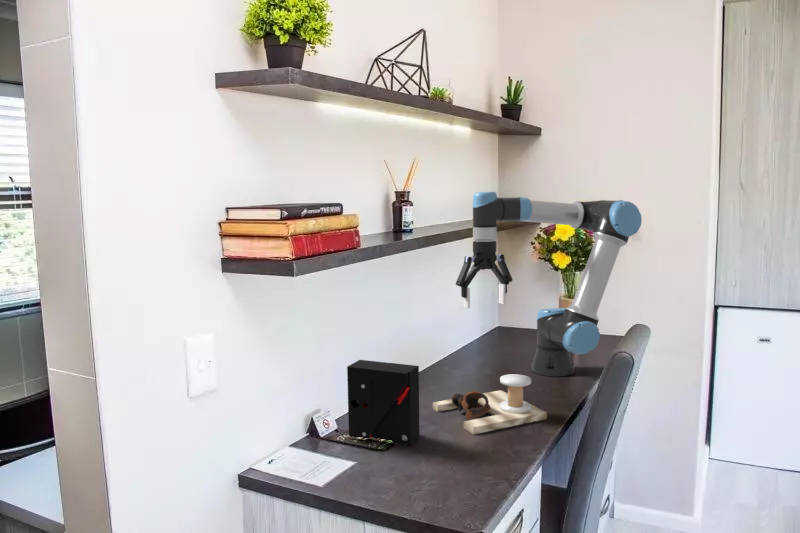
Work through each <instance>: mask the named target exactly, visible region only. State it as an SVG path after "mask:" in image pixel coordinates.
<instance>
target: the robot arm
mask: <svg viewBox="0 0 800 533" xmlns="http://www.w3.org/2000/svg"><path fill="white" fill-rule="evenodd" d="M471 207H472V239H473V240H474V241H472V252H473V256H468V255H467V256H464V260H463V265H462V266H461V269H460V271H459V274H458V277H457V279H456V280H455V281H456V282H455V286H456V287H457V286H458V287H460V291H461V293H460V295H461V298H463V299H462V300H463V303H462V304H463V308H465V309H471V307H470V306H471V287H469V285H471V283H472V281H473V279H475V277H476V276H477V273H478V272H479V271H481V270H491V272H492V273H493V274H494V275H495V277H496V278H497V279H498V281H499V282H500V283H498V304H501V305H506V295H507V293H508V285H509V284H510V283H512V282H513V278H512V277H513V276H512V275H511V272H510V270H509V267H508V265H507V264H506V260H505V258H506V257H505V255H504V254H503V253H497V241H496V240H497V235H498V234H497V230H498V229H497V223H498V222H527V223H537V224H538V223H541V224H552V225H566V226H570V227H571V228H573V229H580V230H585V231H589V232H592V235H593V237H594V243H593V246H592V248H591V251H590V253H589V257H588V259H587V262H586V265H585V267H584V270H583V273H582V276H581V278H580V281H579V284H578V286H577V289H576V292H575V295H574V297H573V300H572V302H571V305H569V306H567V307H566V308H565V307H553V308H552V307H551V308H550V307H549V308H542V309H540V310H538V311H537V316H536V329H537V330H536V351H535V353H534V354H535V355H534V357H533V361H532V362H531V371H532V373H535V374H538V375H540V376H547V377H567V376H568V377H569V376H571V375H573V374H574V373H575V363H574V360H573V356H572V354H576V355H586V354H588V353H590V352H592V351H593V350H595V348H596V347H597V345H598V344H599V341H600V338H601V333H600V329H599V328H598V324H599V321H600V319H599V317H598V314H597V313H598V310H599V307H600V305H601V301H602V300H603V297H604V293H605V290H606V288H607V286H608V282H609V280H610V278H611V274H612V272H613V270H614V266H615V264H616V261H617V257H618V255H619V252H620V249H621V248H622V247H624V246H626V245H627V243H628V241H629V238H630V237H631V236H634V234H637V233H638V232H639V230H640V228H641V226H642V221H643V220H642V214H641V212H640V209H639V208H638V206H636V204H634V203H633V202H631V201H628V200H623V199H618V200H609V199H607V200H604V199H601V200H592V201H573V202H572V203H568V202H554V201H544V200H542V201H541V200H531V199H529V198H528V197H500V196H499V197H498V195H497V192H496V191H479V192H478V191H476V192H474V194H473V196H472V205H471ZM496 253H497V254H496ZM496 262H497V264H496ZM499 268H500V269H499ZM571 353H572V354H571Z"/></svg>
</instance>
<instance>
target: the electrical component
mask: <svg viewBox="0 0 800 533" xmlns="http://www.w3.org/2000/svg"><path fill="white" fill-rule="evenodd" d="M346 370H347V372H346V375H347V409H348V410H347V411H348V412H347V416H348V437H349V436H354V437H363V438H369V437H374V438H380V439H386V440H392V441H393V442H394V443H397V444H401V445H400V446H404V445H406V446H405V447H410V446H411V445H412V444H413V445H414V444H415V443H416V442H417V441H418V440H419V439H420V378H419V377H420V374H419V373H420V366H419V365H413V364H403V363H395V362H394V363H393V362H384V361H376V360H375V361H374V360H365V359H359V360H357V361H355V362H353V363H351V364H349V365H348V366H346ZM397 444H396V445H397ZM413 445H412V446H413ZM412 446H411V447H412Z"/></svg>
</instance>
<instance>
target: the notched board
mask: <svg viewBox="0 0 800 533" xmlns="http://www.w3.org/2000/svg"><path fill="white" fill-rule="evenodd" d="M482 393H483V394H484V395H485V396H486V397H487V398H488V401H489V402H488V404H489V406H490V408H491V409H489V410H488V412H487V413H488V414H490V416H489V415H488V416H485V417H478V418H473V419H471V420H469V421H468V420H465V421H463V429H464V430H466V431H467V432H469V433H470V434H472V435H477V434H482V433H487V432H492V431H496V430H501V429H502V430H503V429H506V428H510V427H515V426H520V425H525V424H529V423H534V421H535V422H539V421H545V420H547V418H548V413H547V411H546V410H543V409H541V408H538V407H537V406H535V405H532V404H530V403H529V404H530V405H531V410H530V411H529V412H527V413H521V414H514V413H507V412H504V411H502V410H501V409H500V403H501V402H503V401H507V400H508V392H505V391H504V390H500V389H499V390H495V391H488V392H482ZM478 403H480V404H481V405H483V406H484V405H485V403H486V401H485V399H484V398H479V400H478ZM432 409H433V410H434V411H436V413H437V412H444V411H450V410H455V409H458V408H457V407H456V406H455V405H454V404H453V402H452V398H449V399H444V400H438V401H433V402H432ZM524 423H525V424H524Z"/></svg>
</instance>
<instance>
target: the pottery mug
mask: <svg viewBox="0 0 800 533" xmlns="http://www.w3.org/2000/svg"><path fill="white" fill-rule="evenodd" d="M483 393H484V392H479V391H476V390H475V391H472V390H471V391H469V392H466V394H463V395H462V394H461V393H454V394H453V395H452V397H451V399H452V402H453V404H454V405H455V406H456V407H457V408H456V409H457V410H458V412H462V411H464V412H465V416H464V419H465V421H469V420H472V419H478V418H481V417H483V416H485V414H487V413H488V410H489V409H491V408H490V406H489V404H488V402H489V401H488V398H487V397H486V396H485V395H484V394H483ZM479 398H484V399H485V401H486V403H485V405H484V406H483V405H481V404H480V403H478V400H479Z"/></svg>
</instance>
